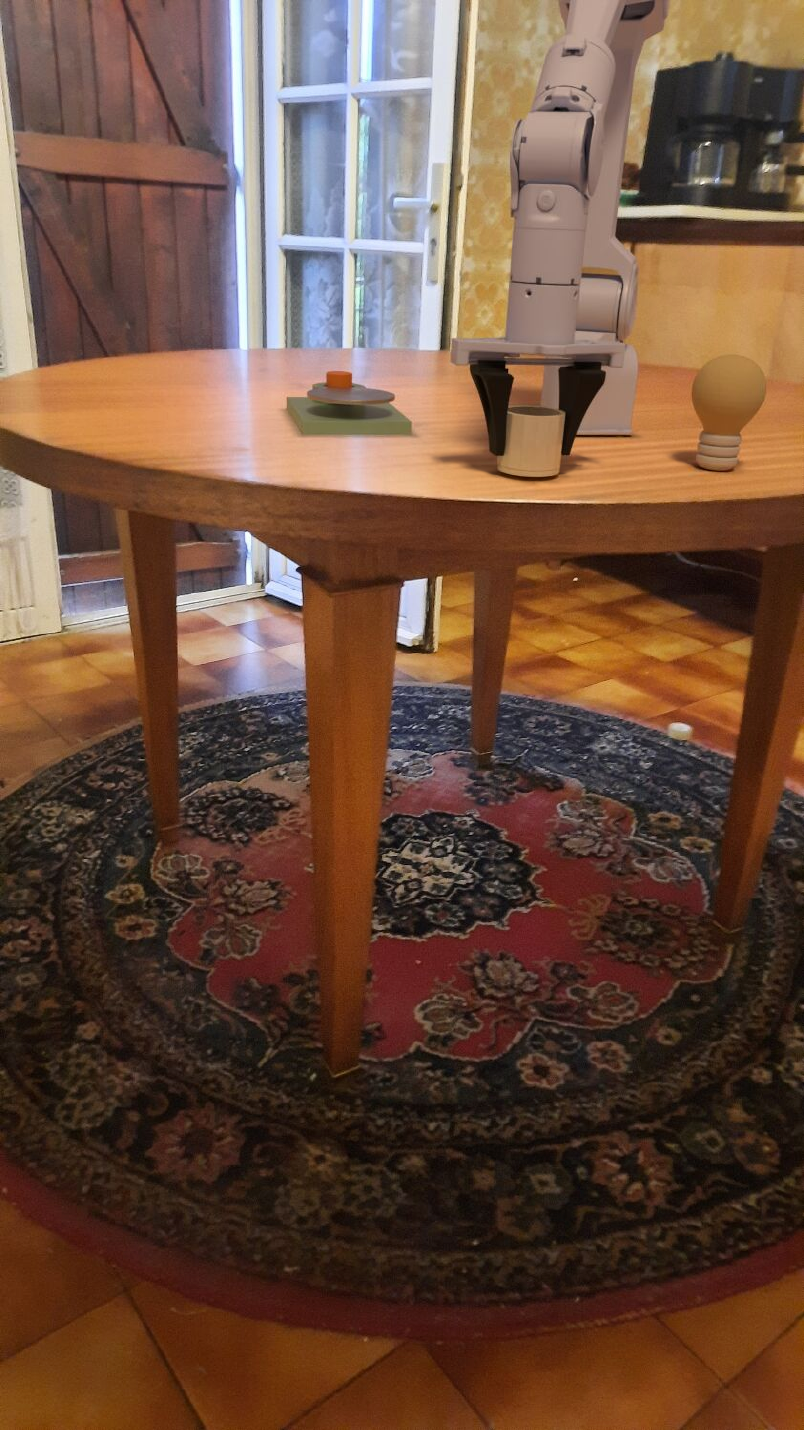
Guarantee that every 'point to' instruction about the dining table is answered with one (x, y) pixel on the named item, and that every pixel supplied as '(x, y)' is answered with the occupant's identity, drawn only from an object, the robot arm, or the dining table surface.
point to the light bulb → (726, 407)
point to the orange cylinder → (338, 379)
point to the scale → (346, 417)
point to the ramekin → (532, 441)
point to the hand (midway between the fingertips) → (529, 453)
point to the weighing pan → (350, 395)
